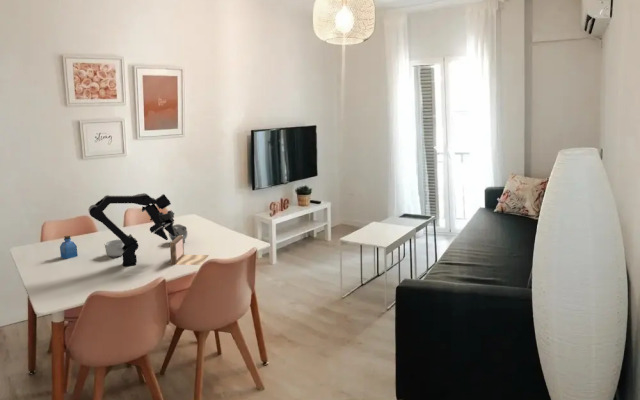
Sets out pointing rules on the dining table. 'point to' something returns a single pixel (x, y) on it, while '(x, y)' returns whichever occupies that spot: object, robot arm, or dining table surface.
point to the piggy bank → (179, 232)
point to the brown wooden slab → (177, 249)
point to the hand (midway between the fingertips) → (171, 237)
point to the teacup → (114, 248)
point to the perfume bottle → (68, 248)
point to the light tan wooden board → (192, 260)
